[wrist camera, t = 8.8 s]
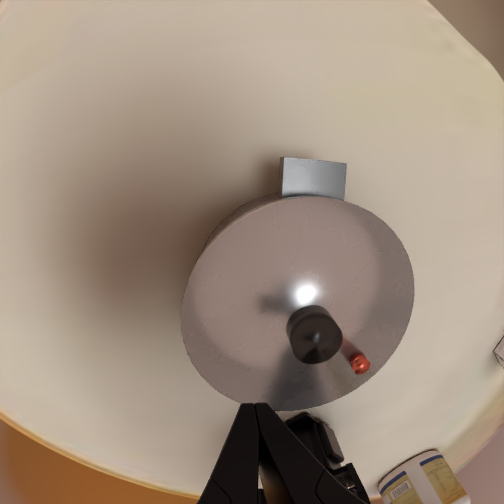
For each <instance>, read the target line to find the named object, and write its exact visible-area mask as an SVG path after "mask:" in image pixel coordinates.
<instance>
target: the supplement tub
mask: <svg viewBox="0 0 504 504" xmlns="http://www.w3.org/2000/svg"><path fill="white" fill-rule="evenodd" d="M379 492H380V494H381V496H382V499H383V501H384V503H385V504H470V498H469V496H468V494H467V493H466V491H465V490H464V488H463V487H462V485H461V484H460V482H459V481H458V479H457V478H456V476H455V475H454V473H453V472H452V470H451V468H450V467H449V465H448V464H447V462H446V461H445V459H444V458H443V456H442V454H441V453H440V452H438V451H428V452H425V453H422V454H420V455H418V456H416V457H414V458H412V459H410V460H409V461H407V462H405V463H404V464H402V465H400V466H399V467H397V468H396V469H395V470H393V471H392V472H391V473H389V474H388V475H387V476H386V477H385V478H384V479H383V480H382V482H381V483H380V485H379Z"/></svg>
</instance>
